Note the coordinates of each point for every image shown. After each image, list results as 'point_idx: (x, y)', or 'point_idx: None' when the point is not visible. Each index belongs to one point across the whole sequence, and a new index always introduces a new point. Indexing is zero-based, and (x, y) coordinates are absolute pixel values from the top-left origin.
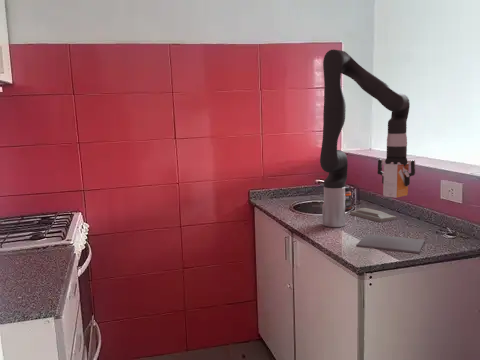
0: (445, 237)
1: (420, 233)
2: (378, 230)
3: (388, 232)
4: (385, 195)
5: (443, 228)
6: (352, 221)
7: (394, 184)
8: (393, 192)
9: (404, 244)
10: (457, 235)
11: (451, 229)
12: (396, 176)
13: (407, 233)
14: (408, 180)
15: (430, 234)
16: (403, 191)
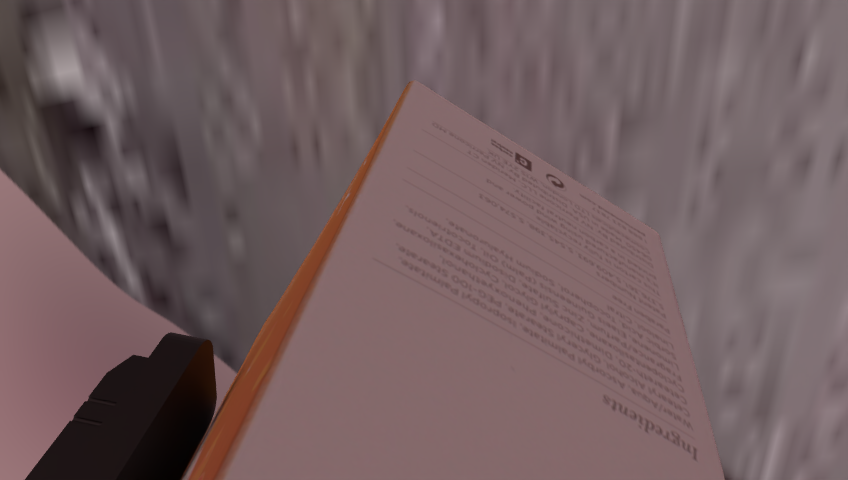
0: (84, 29)
1: (281, 116)
2: (625, 151)
3: (540, 100)
4: (620, 212)
5: (156, 273)
6: (814, 384)
7: (418, 253)
8: (465, 155)
9: None
10: (26, 107)
11: (104, 256)
12: (284, 417)
13: (379, 96)
14: (78, 438)
15: (205, 99)
16: (288, 288)
